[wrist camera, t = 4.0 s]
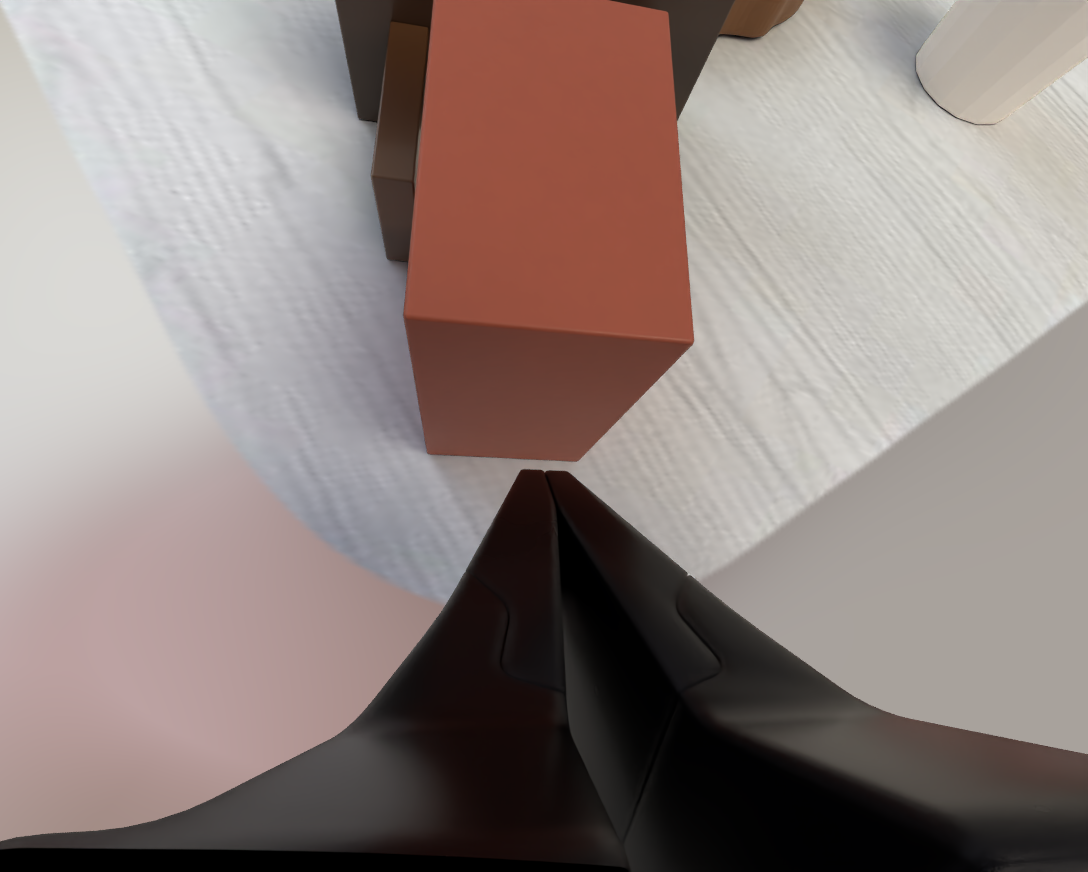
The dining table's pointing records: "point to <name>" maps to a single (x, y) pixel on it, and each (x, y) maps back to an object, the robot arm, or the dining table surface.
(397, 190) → the dock
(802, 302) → the dining table surface
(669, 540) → the dining table surface
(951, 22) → the shot glass
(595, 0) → the orange rectangular block
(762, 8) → the plant
